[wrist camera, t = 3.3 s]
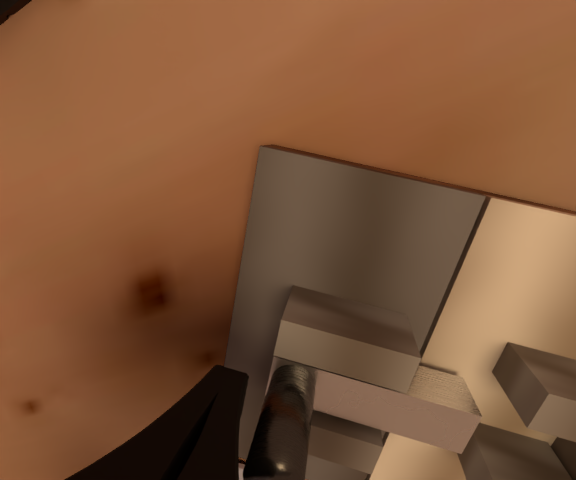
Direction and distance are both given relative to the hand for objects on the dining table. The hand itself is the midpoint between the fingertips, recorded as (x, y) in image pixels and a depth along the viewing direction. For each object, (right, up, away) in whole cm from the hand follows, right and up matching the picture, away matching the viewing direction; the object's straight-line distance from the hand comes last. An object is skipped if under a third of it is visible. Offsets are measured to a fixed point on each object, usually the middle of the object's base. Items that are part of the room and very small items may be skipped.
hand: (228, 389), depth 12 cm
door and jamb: (+9, 0, +5) cm, 10 cm away
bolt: (+6, 0, +2) cm, 6 cm away
